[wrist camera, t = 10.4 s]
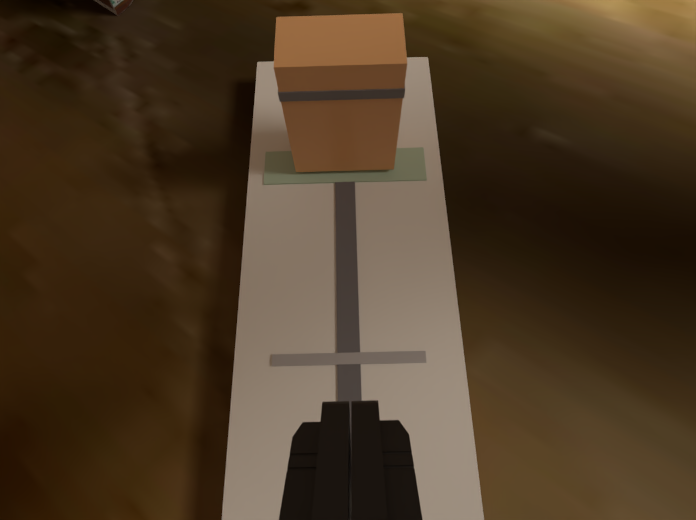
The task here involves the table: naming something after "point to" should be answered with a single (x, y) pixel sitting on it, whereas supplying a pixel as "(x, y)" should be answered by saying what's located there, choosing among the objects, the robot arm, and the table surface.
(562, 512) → the table surface
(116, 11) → the food container
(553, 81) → the table surface
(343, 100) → the fader tab
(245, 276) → the white slider board
